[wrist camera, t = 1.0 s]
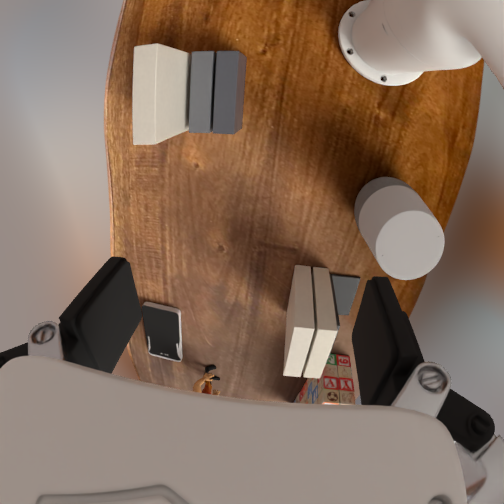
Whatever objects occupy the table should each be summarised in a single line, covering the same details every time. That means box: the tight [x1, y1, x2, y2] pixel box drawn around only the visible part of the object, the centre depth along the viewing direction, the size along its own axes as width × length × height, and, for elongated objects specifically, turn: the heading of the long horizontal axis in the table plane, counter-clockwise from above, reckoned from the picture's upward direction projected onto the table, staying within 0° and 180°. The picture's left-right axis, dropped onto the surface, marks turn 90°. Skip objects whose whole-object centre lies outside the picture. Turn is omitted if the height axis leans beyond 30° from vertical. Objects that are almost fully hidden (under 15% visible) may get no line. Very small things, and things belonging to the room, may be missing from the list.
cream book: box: [132, 43, 192, 145], centre depth 30 cm, size 10×2×14 cm, turn 176°
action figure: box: [193, 366, 220, 395], centre depth 57 cm, size 10×4×15 cm, turn 7°
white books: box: [283, 265, 360, 378], centre depth 43 cm, size 10×11×14 cm
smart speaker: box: [354, 177, 444, 280], centre depth 34 cm, size 10×9×14 cm
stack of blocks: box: [294, 354, 355, 405], centre depth 56 cm, size 21×6×12 cm, turn 169°
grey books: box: [189, 51, 247, 134], centre depth 33 cm, size 10×12×6 cm
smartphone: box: [142, 302, 183, 362], centre depth 58 cm, size 8×1×15 cm
